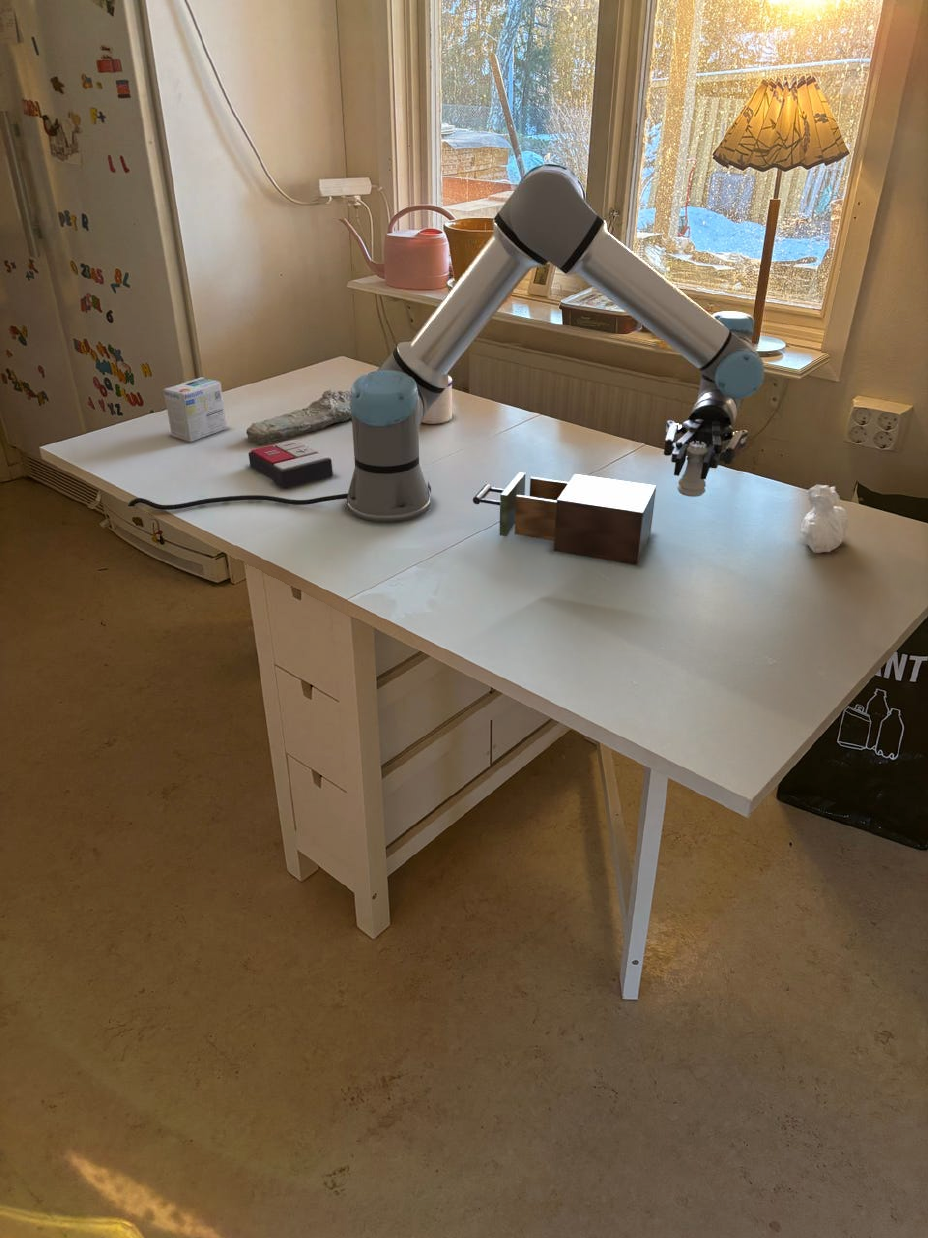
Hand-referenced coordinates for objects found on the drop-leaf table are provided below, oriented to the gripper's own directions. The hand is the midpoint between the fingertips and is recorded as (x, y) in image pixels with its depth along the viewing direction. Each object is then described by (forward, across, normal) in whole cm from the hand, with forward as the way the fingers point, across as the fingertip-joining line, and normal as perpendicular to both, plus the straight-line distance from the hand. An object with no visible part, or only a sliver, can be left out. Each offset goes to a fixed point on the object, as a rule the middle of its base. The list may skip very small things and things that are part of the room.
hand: (690, 468), depth 137 cm
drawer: (-5, +27, -17) cm, 32 cm away
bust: (-19, -21, -18) cm, 33 cm away
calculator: (-14, +79, -18) cm, 82 cm away
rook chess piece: (-5, 0, -6) cm, 8 cm away
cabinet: (-5, +13, -18) cm, 23 cm away
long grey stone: (-40, +88, -18) cm, 98 cm away
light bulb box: (-26, +109, -18) cm, 113 cm away
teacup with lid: (-54, +66, -18) cm, 87 cm away
